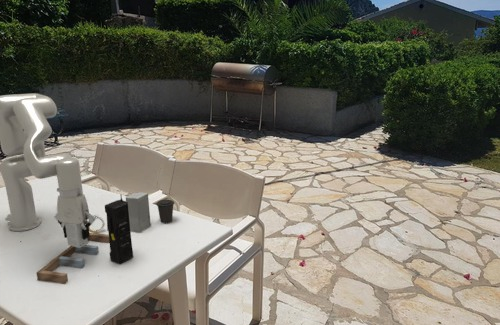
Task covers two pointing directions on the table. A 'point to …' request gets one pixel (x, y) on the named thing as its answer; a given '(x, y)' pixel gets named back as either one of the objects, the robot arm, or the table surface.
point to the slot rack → (70, 260)
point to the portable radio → (119, 231)
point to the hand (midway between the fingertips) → (77, 236)
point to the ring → (101, 227)
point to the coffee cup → (165, 210)
